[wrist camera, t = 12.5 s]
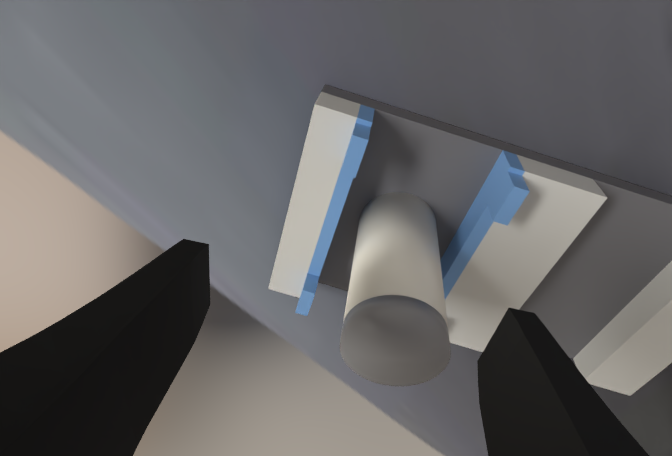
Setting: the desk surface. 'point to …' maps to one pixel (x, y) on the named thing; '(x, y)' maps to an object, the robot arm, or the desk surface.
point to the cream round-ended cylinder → (396, 295)
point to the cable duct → (491, 234)
